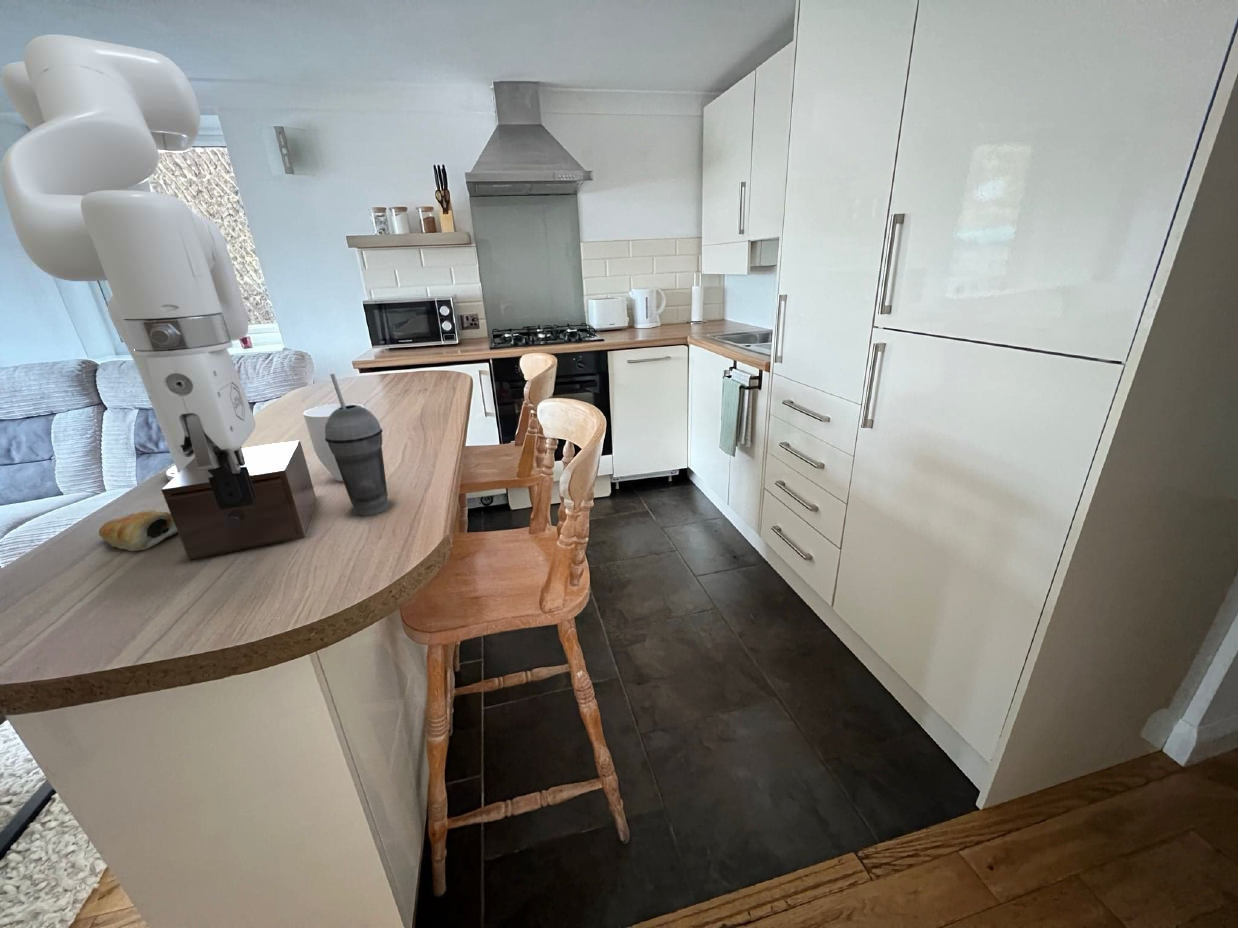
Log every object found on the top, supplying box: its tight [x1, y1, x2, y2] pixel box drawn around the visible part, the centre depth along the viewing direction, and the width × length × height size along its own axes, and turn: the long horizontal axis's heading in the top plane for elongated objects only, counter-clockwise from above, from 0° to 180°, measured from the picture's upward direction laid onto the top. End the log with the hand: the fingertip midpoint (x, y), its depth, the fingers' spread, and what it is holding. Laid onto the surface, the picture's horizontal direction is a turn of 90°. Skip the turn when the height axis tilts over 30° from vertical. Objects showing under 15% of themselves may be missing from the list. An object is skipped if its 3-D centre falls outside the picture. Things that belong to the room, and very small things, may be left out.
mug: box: [302, 402, 365, 482], centre depth 86 cm, size 12×9×12 cm
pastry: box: [98, 509, 178, 552], centre depth 68 cm, size 9×7×4 cm
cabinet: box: [160, 440, 317, 561], centre depth 69 cm, size 14×13×10 cm
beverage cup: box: [325, 373, 389, 517], centre depth 71 cm, size 7×7×20 cm
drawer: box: [166, 477, 298, 557], centre depth 67 cm, size 14×11×8 cm
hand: (238, 504), depth 56 cm, fingers closed
